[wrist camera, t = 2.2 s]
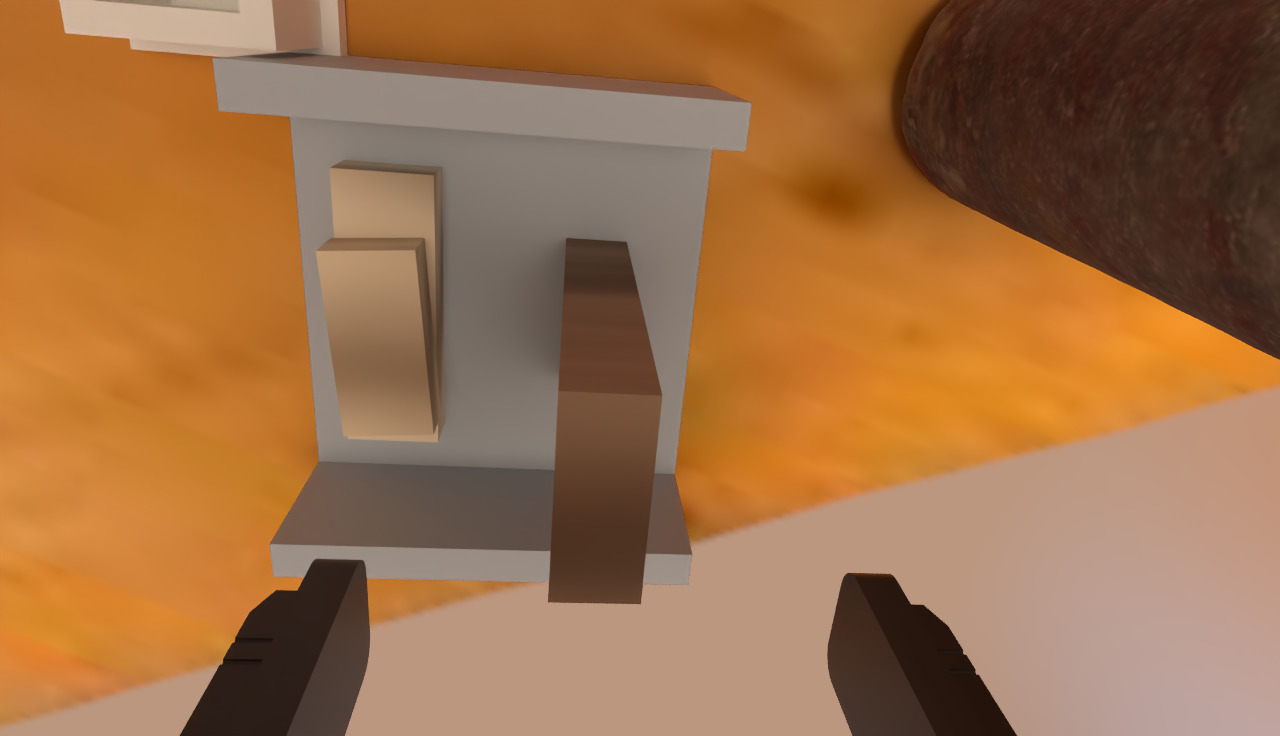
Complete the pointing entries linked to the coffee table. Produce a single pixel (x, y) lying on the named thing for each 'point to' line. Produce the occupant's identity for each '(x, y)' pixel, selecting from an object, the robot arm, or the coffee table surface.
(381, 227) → the block
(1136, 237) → the brown log
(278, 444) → the coffee table surface
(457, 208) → the rack
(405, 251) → the offcut short
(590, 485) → the slat
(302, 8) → the holder
